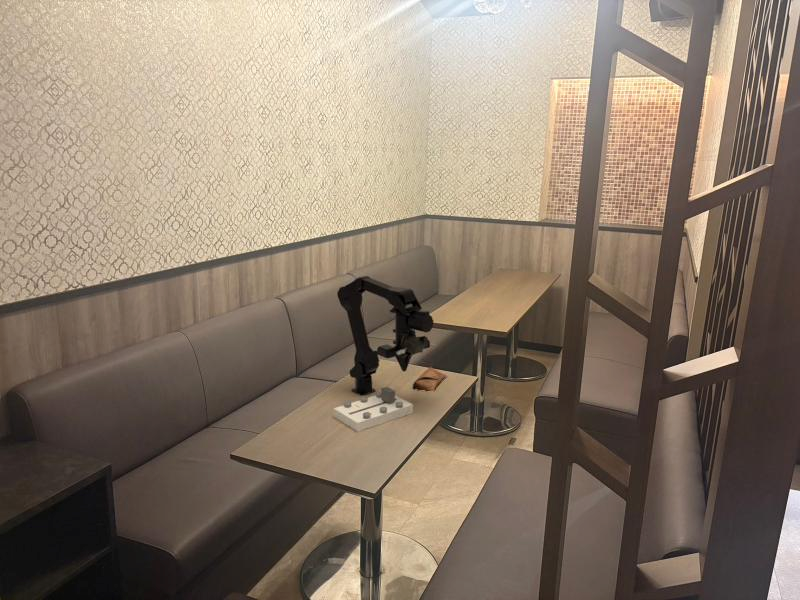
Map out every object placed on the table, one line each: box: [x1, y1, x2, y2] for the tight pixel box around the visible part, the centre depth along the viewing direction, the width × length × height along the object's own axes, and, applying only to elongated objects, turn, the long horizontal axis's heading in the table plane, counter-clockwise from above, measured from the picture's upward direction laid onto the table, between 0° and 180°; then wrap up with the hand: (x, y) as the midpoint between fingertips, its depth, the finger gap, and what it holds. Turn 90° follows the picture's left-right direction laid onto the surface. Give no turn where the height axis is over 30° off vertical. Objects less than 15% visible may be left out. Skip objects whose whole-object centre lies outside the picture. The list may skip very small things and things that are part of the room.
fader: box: [380, 386, 396, 404], centre depth 196 cm, size 4×2×4 cm, turn 38°
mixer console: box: [333, 391, 414, 433], centre depth 193 cm, size 14×22×4 cm, turn 128°
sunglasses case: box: [412, 366, 447, 392], centre depth 221 cm, size 18×7×7 cm
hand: (404, 371), depth 199 cm, fingers closed
